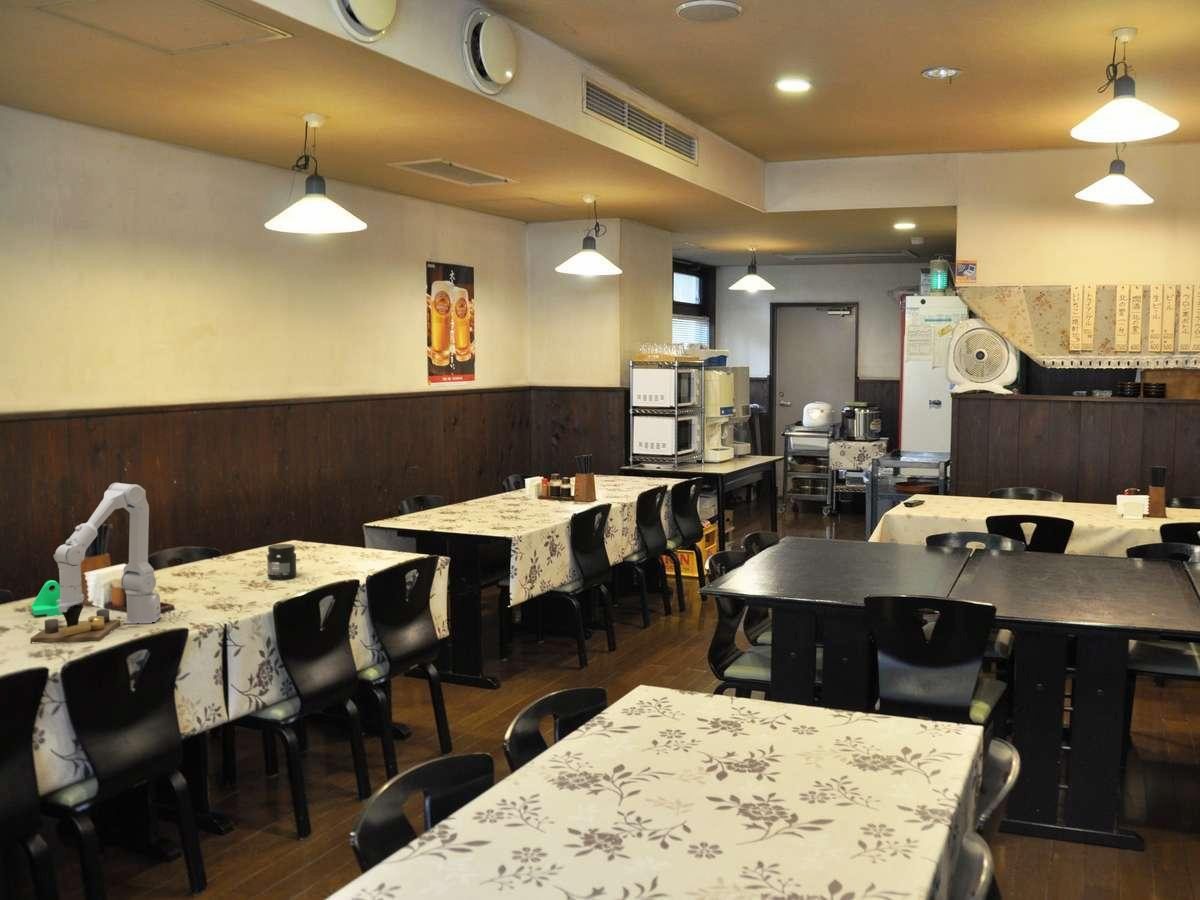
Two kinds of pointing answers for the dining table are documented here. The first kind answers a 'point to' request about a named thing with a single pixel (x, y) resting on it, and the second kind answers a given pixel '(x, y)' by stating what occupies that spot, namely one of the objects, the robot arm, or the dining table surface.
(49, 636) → the levelling base
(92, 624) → the brass lever handle
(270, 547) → the supplement container
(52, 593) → the green triangular bracket
